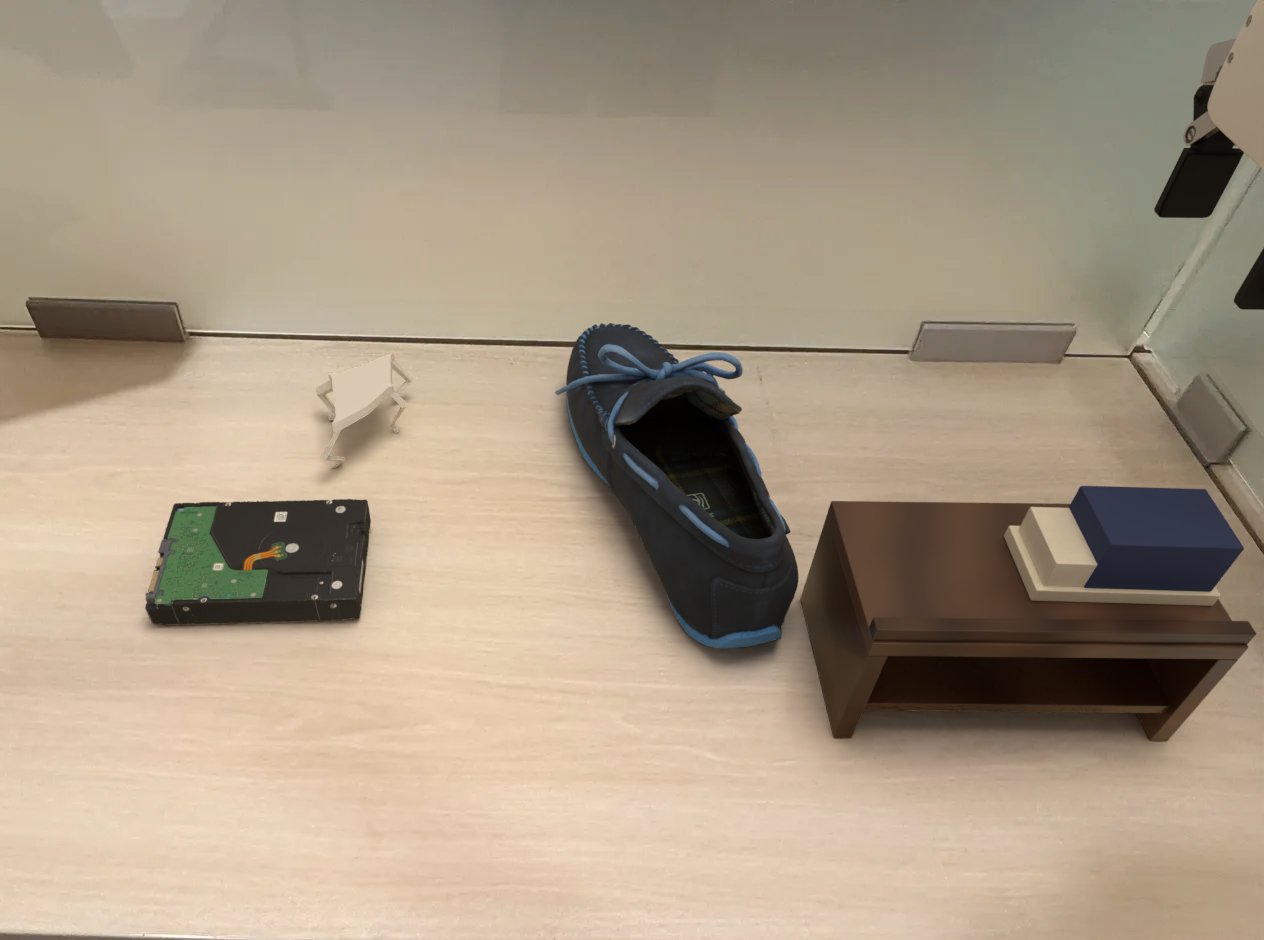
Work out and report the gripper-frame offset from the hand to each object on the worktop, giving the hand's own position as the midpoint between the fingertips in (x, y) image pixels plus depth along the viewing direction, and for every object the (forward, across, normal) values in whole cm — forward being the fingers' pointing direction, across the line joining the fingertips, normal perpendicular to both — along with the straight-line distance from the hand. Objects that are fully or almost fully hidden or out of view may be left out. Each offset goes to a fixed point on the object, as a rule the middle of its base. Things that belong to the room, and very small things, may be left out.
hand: (1219, 258), depth 55 cm
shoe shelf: (+27, -9, +8) cm, 29 cm away
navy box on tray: (+17, -9, +3) cm, 19 cm away
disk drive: (+26, -1, +58) cm, 64 cm away
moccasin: (+27, +8, +28) cm, 40 cm away
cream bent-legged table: (+26, +15, +54) cm, 62 cm away
